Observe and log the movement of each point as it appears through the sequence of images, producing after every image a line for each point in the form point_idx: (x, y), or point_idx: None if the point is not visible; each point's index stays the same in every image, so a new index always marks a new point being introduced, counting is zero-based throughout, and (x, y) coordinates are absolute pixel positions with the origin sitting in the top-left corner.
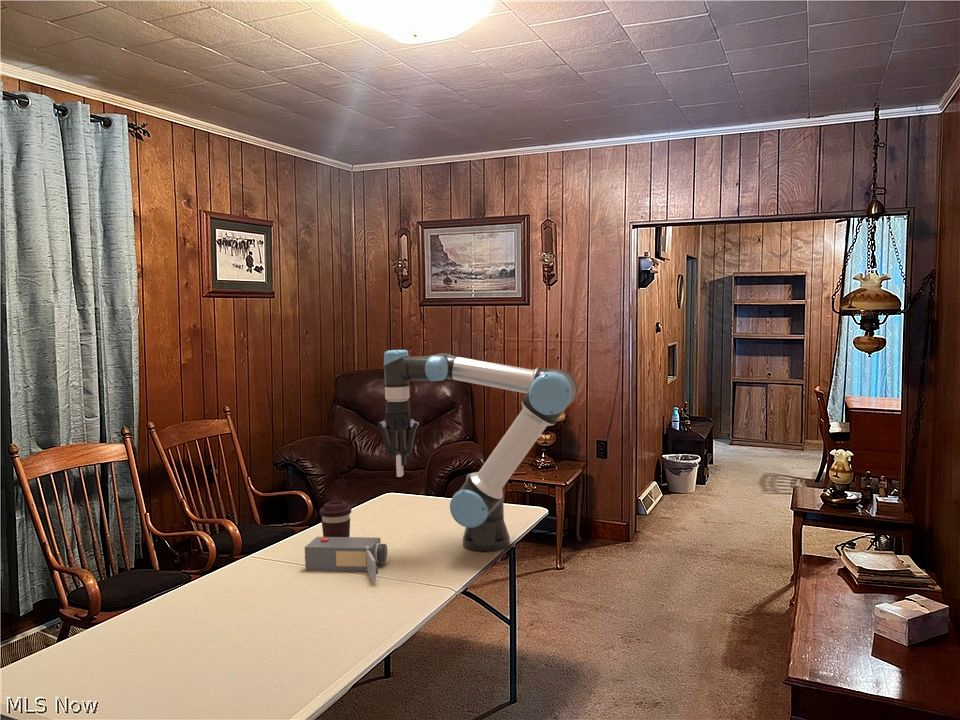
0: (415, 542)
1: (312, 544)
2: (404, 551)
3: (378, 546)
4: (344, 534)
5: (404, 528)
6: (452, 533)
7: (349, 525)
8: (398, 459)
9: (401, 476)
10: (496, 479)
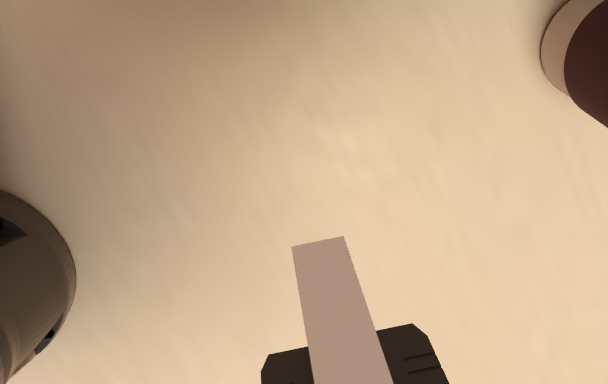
0: (281, 218)
1: None
2: (277, 99)
3: None
4: (587, 32)
5: None
6: (182, 349)
7: (591, 87)
8: (351, 380)
9: (292, 252)
10: None
